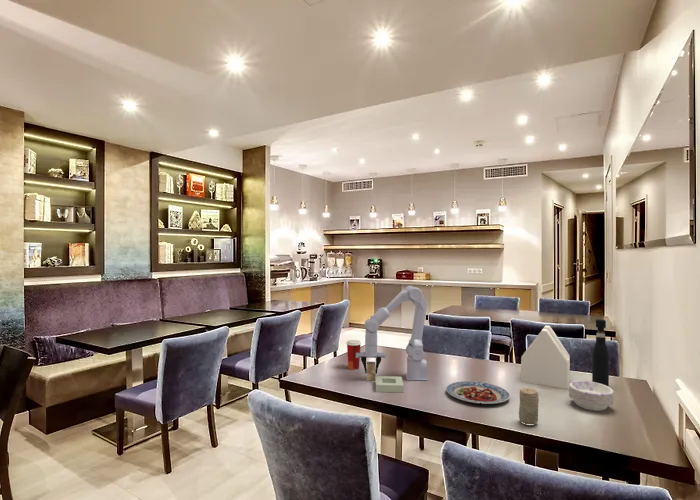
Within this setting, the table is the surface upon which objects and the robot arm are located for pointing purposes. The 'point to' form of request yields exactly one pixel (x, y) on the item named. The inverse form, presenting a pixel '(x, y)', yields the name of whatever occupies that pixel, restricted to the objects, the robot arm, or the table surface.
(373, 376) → the maple peg
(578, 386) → the white round bowl
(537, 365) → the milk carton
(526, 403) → the jute twine spool
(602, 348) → the wine bottle
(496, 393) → the ceramic plate
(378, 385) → the socket block
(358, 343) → the paper cup
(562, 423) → the table surface
